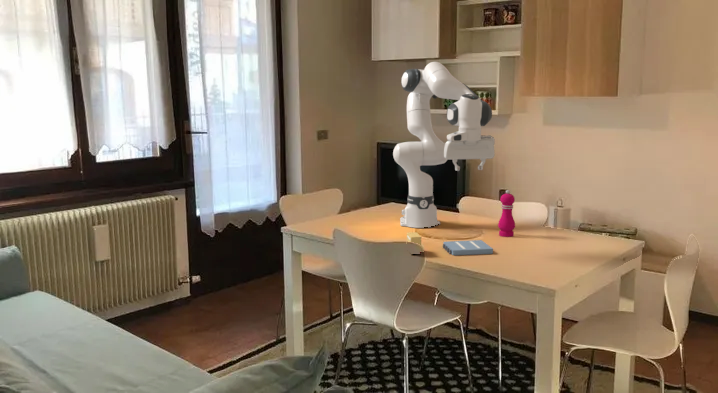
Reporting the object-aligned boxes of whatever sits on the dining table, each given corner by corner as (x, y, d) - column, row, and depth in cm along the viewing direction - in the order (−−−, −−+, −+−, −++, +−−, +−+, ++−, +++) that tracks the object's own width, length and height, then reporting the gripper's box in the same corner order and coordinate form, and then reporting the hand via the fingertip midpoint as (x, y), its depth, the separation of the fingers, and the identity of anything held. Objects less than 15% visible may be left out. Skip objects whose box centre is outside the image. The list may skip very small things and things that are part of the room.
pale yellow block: (406, 249, 265) (406, 232, 264) (416, 249, 265) (416, 232, 264) (410, 254, 257) (411, 237, 256) (421, 254, 258) (421, 236, 256)
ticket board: (441, 246, 270) (441, 241, 270) (481, 244, 272) (481, 239, 272) (451, 255, 256) (451, 250, 256) (492, 253, 259) (492, 248, 258)
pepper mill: (494, 234, 290) (496, 189, 287) (508, 232, 293) (510, 188, 289) (503, 237, 284) (505, 191, 280) (518, 236, 286) (519, 190, 282)
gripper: (492, 134, 268) (491, 168, 270) (442, 135, 265) (442, 169, 267) (497, 135, 262) (496, 170, 264) (447, 136, 259) (446, 171, 261)
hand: (468, 170), depth 266 cm, fingers open, 8 cm apart
